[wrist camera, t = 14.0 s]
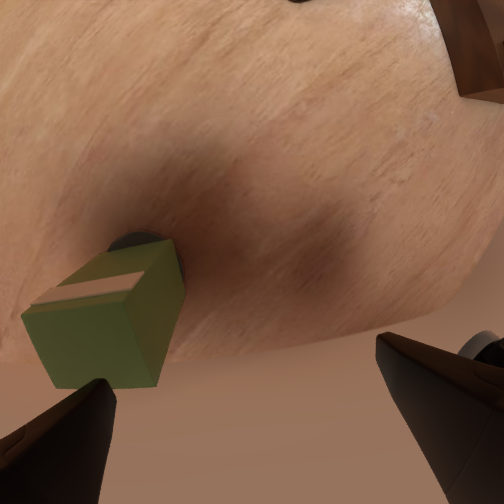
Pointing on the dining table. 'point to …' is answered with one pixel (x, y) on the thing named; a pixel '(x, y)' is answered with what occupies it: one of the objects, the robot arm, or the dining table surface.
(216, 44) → the dining table surface
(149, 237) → the coaster
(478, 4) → the walnut stand
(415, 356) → the robot arm
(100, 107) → the dining table surface
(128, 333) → the packet
